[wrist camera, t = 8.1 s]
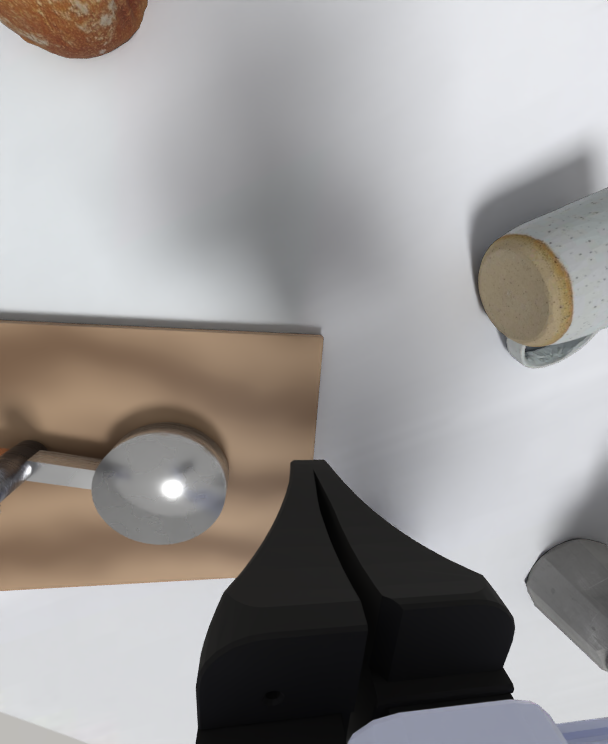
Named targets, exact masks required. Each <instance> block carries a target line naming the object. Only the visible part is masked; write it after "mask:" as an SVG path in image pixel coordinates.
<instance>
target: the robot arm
mask: <svg viewBox="0 0 608 744" xmlns="http://www.w3.org/2000/svg"><path fill="white" fill-rule="evenodd" d="M514 631H515V624H514V618H513V616H512V615H511V613H510V612H509V610H508V609H507V607H506V606H505V604H504V603H503V601H502V600H501V599H500V597H499V596H498V594H497V593H496V592H495V590H494V589H493V588H492V586H491V585H490V584H489V583H488V581H487V580H486V579H485V578H484V576H483V575H481V574H479V573H476V572H474V571H472V570H470V569H468V568H466V567H463V566H461V565H459V564H457V563H455V562H453V561H450V560H448V559H446V558H445V557H443V556H441V555H439V554H437V553H435V552H434V551H432V550H430V549H428V548H426V547H425V546H423V545H421V544H420V543H418V542H416V541H415V540H413V539H411V538H410V537H408V536H407V535H405V534H404V533H402V532H401V531H399V530H398V529H396V528H395V527H394V526H392V525H391V524H389V523H388V522H387V521H386V520H384V519H383V518H382V517H380V516H379V515H378V514H377V513H375V512H374V511H373V510H372V509H371V508H369V507H368V506H367V505H366V504H365V503H364V502H363V501H362V500H361V499H360V498H359V497H358V496H357V495H356V494H355V493H354V492H353V491H352V490H351V489H350V488H349V487H348V486H347V485H346V484H345V483H344V482H343V481H342V480H341V478H340V477H339V476H338V475H337V474H336V473H335V472H334V470H333V469H332V468H331V467H330V466H329V465H328V463H327V462H326V461H325V460H293V461H292V462H291V463H290V476H289V484H288V487H287V491H286V494H285V497H284V500H283V502H282V505H281V507H280V510H279V512H278V514H277V516H276V519H275V521H274V523H273V525H272V527H271V528H270V530H269V532H268V534H267V535H266V537H265V539H264V541H263V542H262V544H261V545H260V547H259V548H258V550H257V551H256V553H255V554H254V556H253V557H252V558H251V560H250V561H249V563H248V564H247V565H246V567H245V568H244V569H243V571H242V572H241V573H240V574H239V575H238V576H237V578H236V579H235V580H234V581H233V582H232V583H231V585H230V586H229V587H228V588H227V589H226V590H225V592H224V593H223V595H222V597H221V599H220V602H219V604H218V606H217V609H216V611H215V613H214V616H213V618H212V621H211V623H210V626H209V629H208V631H207V634H206V638H205V641H204V644H203V648H202V652H201V657H200V663H199V670H198V677H197V683H196V699H197V718H198V732H197V738H196V744H608V717H604V718H597V719H589V720H582V721H574V722H567V723H560V724H555V722H554V721H553V719H552V718H551V716H550V715H549V714H548V713H547V712H546V711H545V710H544V709H542V708H541V707H540V706H539V705H538V704H536V703H533V702H531V701H525V700H514V699H513V697H512V695H511V693H513V691H514V687H513V683H512V682H511V680H510V678H509V677H508V675H507V673H506V672H505V670H504V668H503V665H504V663H505V660H506V657H507V655H508V652H509V649H510V647H511V644H512V641H513V636H514Z"/></svg>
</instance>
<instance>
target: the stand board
mask: <svg viewBox="0 0 608 744" xmlns="http://www.w3.org/2000/svg"><path fill="white" fill-rule="evenodd" d="M322 350H323V336H322V335H314V334H292V333H270V332H249V331H227V330H205V329H184V328H162V327H140V326H119V325H97V324H75V323H54V322H32V321H11V320H0V448H7V449H11V448H12V447H14V446H15V445H17V444H18V443H20V442H22V441H25V440H33V441H37V442H39V443H41V444H43V445H44V446H45V447H46V448H47V450H48V451H51V452H58V453H64V454H71V455H77V456H84V457H90V458H97V459H104V457H105V456H106V455H107V454H108V453H109V452H110V451H111V450H112V449H113V447H114V446H115V445H116V444H117V443H118V442H119V441H120V440H121V439H122V438H123V437H124V436H125V435H127V434H128V433H130V432H131V431H133V430H135V429H137V428H139V427H142V426H145V425H148V424H153V423H161V422H171V423H179V424H183V425H187V426H190V427H193V428H195V429H197V430H199V431H201V432H203V433H204V434H206V435H207V436H209V437H210V438H211V439H212V440H213V441H215V443H216V444H217V445H218V446H219V447H220V449H221V450H222V452H223V453H224V455H225V458H226V460H227V463H228V468H229V480H228V486H227V492H226V497H225V502H224V506H223V509H222V511H221V513H220V515H219V517H218V518H217V520H216V521H215V522H214V523H213V524H212V525H211V527H209V528H208V529H207V530H206V531H205V532H203V533H201V534H200V535H198V536H196V537H194V538H192V539H190V540H187V541H184V542H180V543H175V544H167V545H155V544H147V543H142V542H138V541H135V540H132V539H129V538H127V537H125V536H123V535H121V534H119V533H118V532H116V531H115V530H113V529H112V528H111V527H110V526H109V525H108V524H107V523H106V522H105V521H104V520H103V519H102V518H101V516H100V515H99V513H98V512H97V510H96V508H95V505H94V502H93V499H92V493H91V489H83V488H76V487H69V486H61V485H54V484H47V483H39V482H32V481H25V482H24V483H23V484H21V485H20V486H19V487H18V488H17V489H16V490H14V491H13V492H12V493H11V494H10V495H9V496H7V497H6V498H5V499H4V500H3V501H1V502H0V591H8V590H26V589H44V588H61V587H79V586H97V585H115V584H132V583H150V582H168V581H186V580H203V579H221V578H237V576H238V575H239V574H240V573H241V572H242V571H243V569H244V568H245V567H246V565H247V564H248V563H249V561H250V560H251V558H252V557H253V556H254V554H255V553H256V551H257V550H258V548H259V547H260V545H261V544H262V542H263V541H264V539H265V537H266V535H267V534H268V532H269V530H270V528H271V527H272V525H273V523H274V521H275V519H276V516H277V514H278V512H279V510H280V507H281V505H282V502H283V500H284V497H285V494H286V491H287V487H288V484H289V476H290V463H291V462H292V461H293V460H313V454H314V443H315V431H316V420H317V408H318V396H319V385H320V373H321V361H322Z"/></svg>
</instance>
